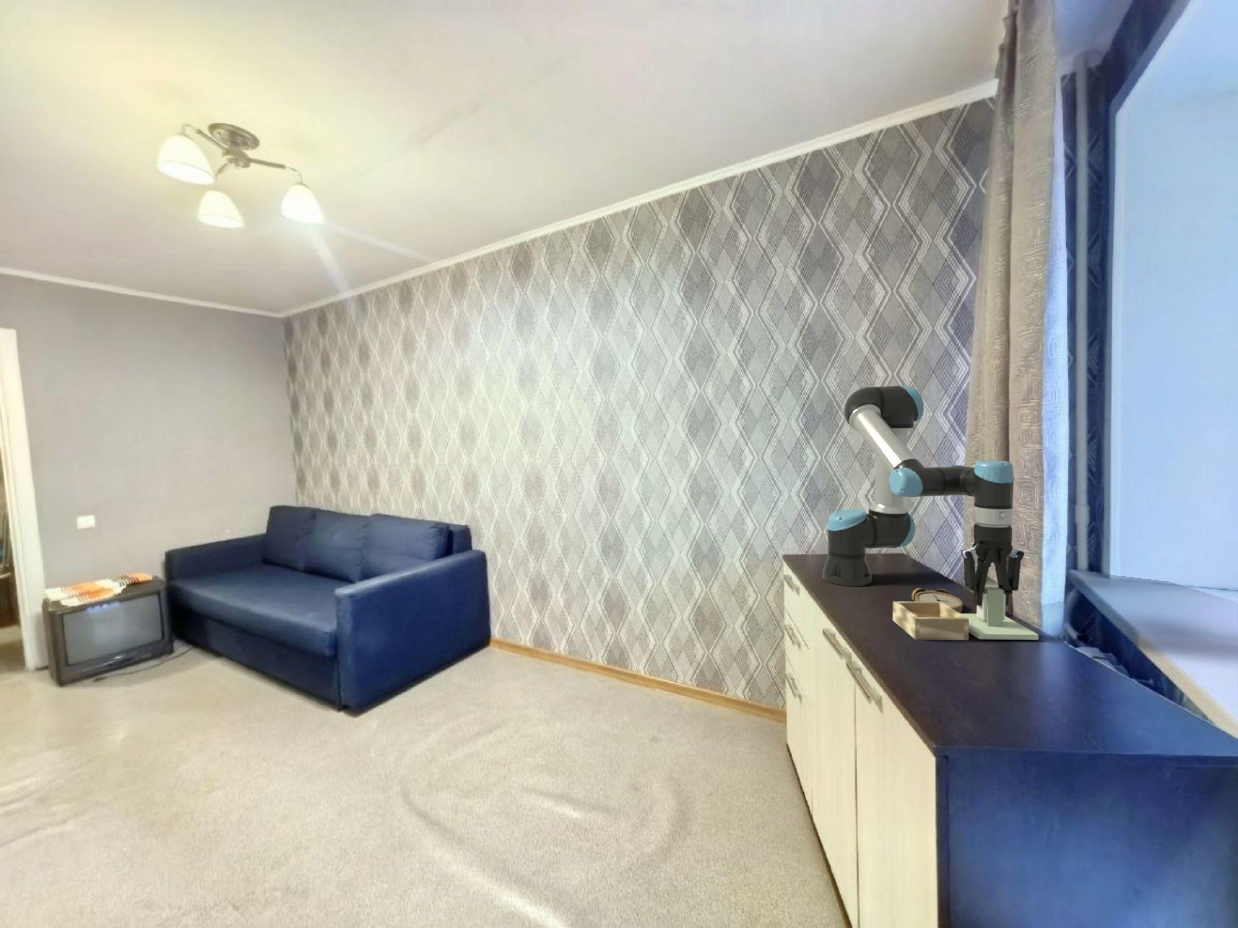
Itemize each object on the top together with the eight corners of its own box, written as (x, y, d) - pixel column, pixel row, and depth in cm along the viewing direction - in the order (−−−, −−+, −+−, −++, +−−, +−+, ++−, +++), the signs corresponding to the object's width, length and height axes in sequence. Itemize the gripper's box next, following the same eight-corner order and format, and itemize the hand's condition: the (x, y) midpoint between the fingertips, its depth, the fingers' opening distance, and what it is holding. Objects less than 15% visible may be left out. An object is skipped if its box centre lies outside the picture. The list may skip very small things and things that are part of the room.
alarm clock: (923, 607, 135) (905, 581, 149) (922, 623, 136) (904, 595, 150) (970, 609, 133) (947, 582, 147) (968, 625, 134) (946, 597, 148)
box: (892, 623, 131) (892, 601, 131) (940, 624, 130) (941, 601, 130) (915, 643, 119) (915, 618, 119) (968, 643, 118) (968, 619, 118)
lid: (948, 617, 130) (948, 579, 130) (1001, 618, 129) (1002, 579, 128) (978, 638, 117) (979, 596, 117) (1038, 639, 116) (1039, 596, 115)
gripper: (965, 527, 119) (963, 623, 120) (1040, 527, 117) (1037, 624, 119) (948, 521, 126) (946, 612, 128) (1018, 521, 124) (1016, 612, 126)
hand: (990, 617), depth 123 cm, fingers closed on lid, 3 cm apart
